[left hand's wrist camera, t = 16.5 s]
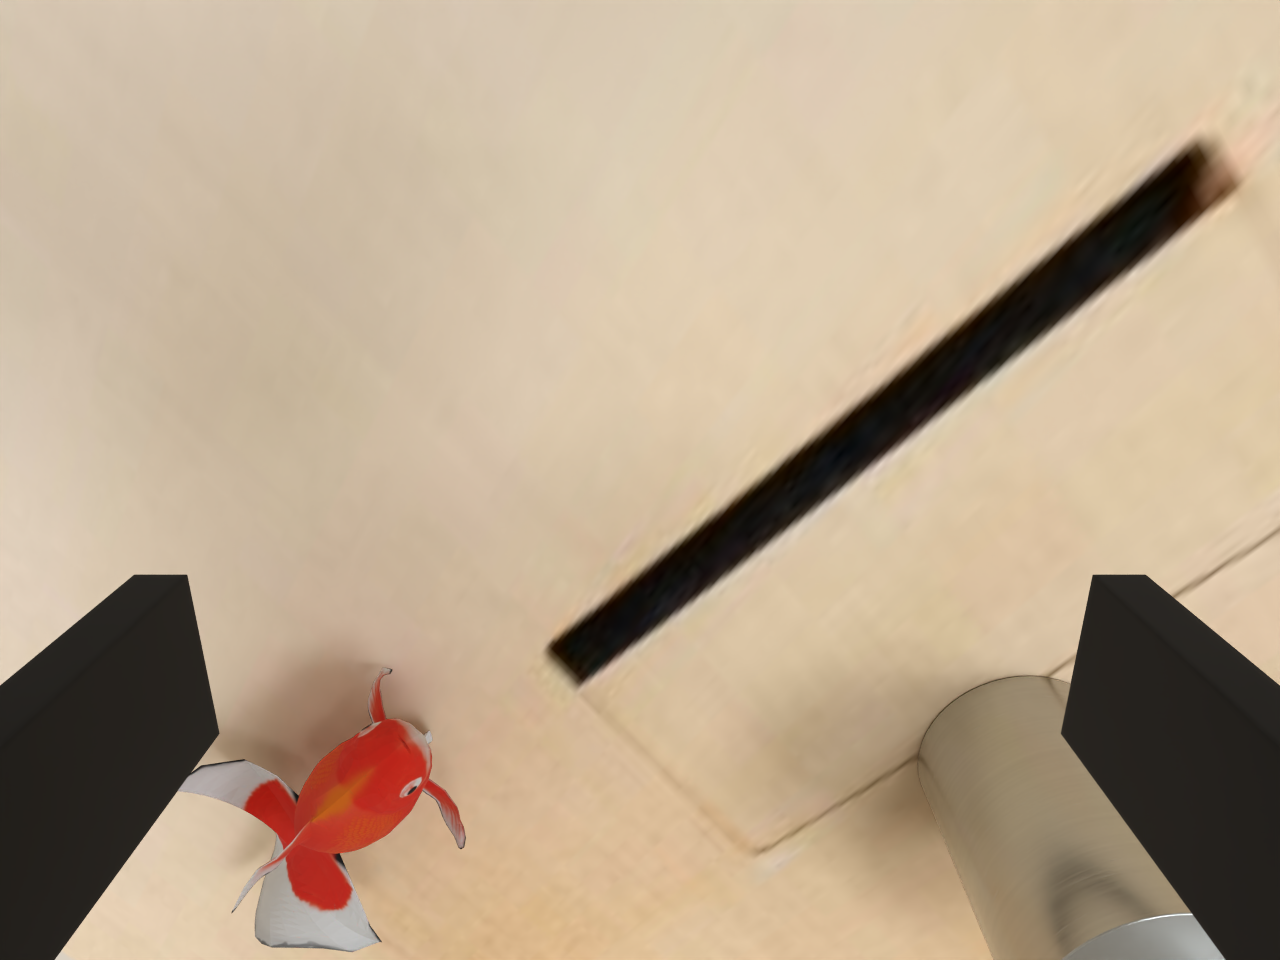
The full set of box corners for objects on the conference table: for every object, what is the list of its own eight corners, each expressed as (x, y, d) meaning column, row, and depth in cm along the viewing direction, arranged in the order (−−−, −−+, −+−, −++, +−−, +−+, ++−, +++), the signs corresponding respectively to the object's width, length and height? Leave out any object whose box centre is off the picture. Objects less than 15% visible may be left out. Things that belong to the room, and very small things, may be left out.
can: (906, 695, 39) (1016, 938, 27) (1108, 658, 38) (1312, 892, 26) (928, 845, 42) (1035, 1120, 30) (1115, 813, 41) (1301, 1085, 29)
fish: (580, 859, 36) (398, 1047, 28) (381, 883, 46) (203, 1030, 38) (467, 629, 36) (253, 754, 28) (291, 701, 46) (94, 810, 38)
